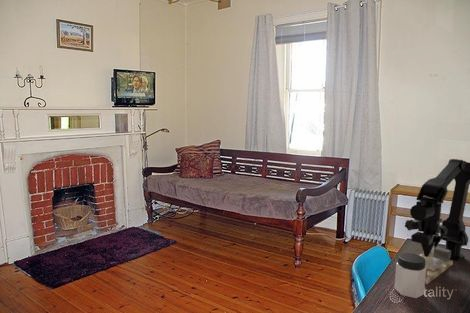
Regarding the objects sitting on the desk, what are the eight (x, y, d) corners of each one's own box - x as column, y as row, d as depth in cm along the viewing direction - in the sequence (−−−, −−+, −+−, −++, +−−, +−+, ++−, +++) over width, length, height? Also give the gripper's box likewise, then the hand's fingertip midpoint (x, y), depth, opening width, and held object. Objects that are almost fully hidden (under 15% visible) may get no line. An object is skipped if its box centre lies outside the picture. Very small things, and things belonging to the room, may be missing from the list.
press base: (425, 256, 148) (426, 243, 147) (452, 264, 140) (453, 251, 139) (398, 273, 132) (400, 259, 131) (427, 284, 125) (428, 269, 124)
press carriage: (420, 258, 142) (422, 236, 140) (442, 265, 136) (444, 242, 134) (411, 263, 137) (413, 241, 135) (434, 271, 131) (436, 247, 129)
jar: (413, 301, 114) (416, 265, 112) (389, 290, 121) (392, 256, 119) (428, 293, 119) (431, 259, 117) (405, 282, 126) (407, 250, 124)
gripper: (419, 206, 145) (416, 243, 148) (398, 215, 133) (395, 255, 136) (449, 212, 137) (446, 251, 139) (430, 223, 125) (426, 265, 127)
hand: (427, 255), depth 136 cm, fingers closed on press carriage, 3 cm apart
